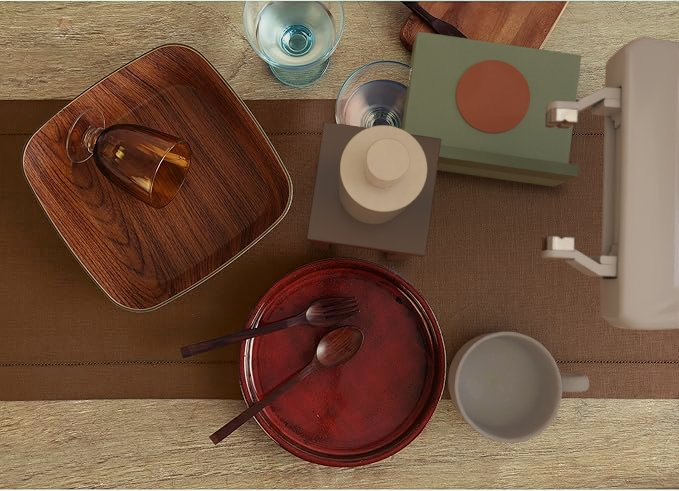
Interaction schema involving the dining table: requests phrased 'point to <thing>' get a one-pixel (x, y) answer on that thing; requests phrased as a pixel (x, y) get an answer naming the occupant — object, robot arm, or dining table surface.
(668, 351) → the dining table surface
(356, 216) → the bottle
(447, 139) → the green block orange circle
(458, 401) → the teacup
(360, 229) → the stand
